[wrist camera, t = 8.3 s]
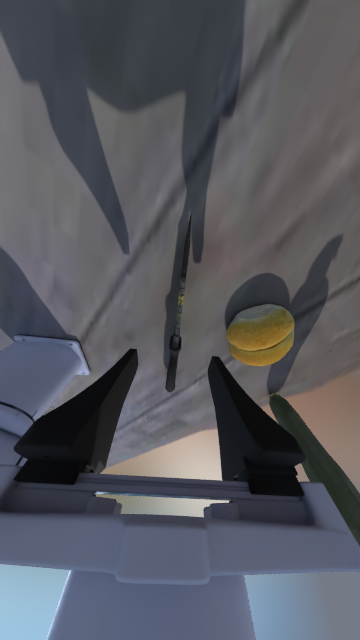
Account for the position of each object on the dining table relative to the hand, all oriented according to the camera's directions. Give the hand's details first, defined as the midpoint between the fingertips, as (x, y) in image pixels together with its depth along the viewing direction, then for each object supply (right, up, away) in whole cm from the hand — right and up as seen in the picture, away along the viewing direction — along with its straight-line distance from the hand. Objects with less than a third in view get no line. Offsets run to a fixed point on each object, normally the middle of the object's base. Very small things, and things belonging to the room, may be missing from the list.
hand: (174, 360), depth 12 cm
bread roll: (+11, +2, +6) cm, 13 cm away
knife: (0, +4, +6) cm, 7 cm away
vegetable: (+20, -11, +14) cm, 26 cm away
